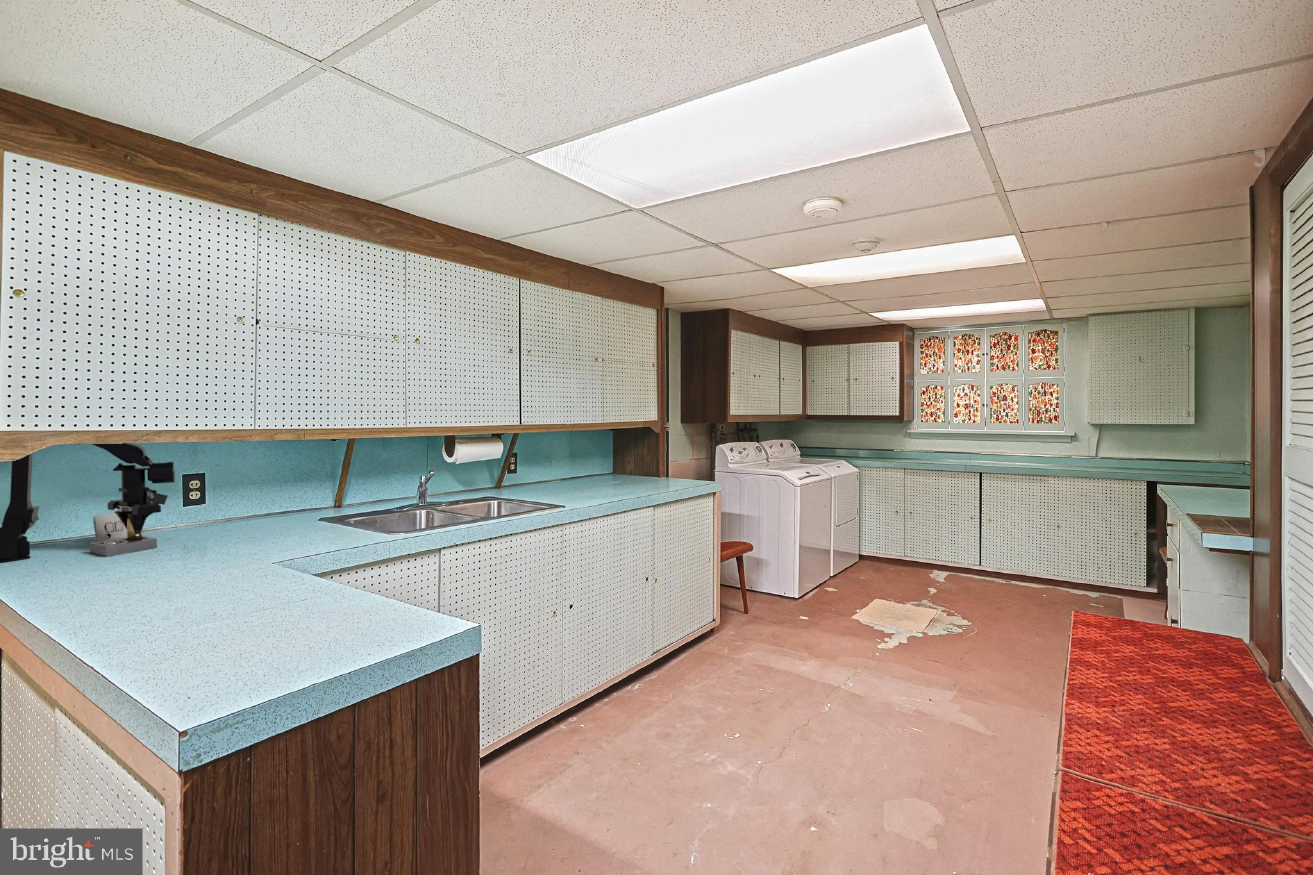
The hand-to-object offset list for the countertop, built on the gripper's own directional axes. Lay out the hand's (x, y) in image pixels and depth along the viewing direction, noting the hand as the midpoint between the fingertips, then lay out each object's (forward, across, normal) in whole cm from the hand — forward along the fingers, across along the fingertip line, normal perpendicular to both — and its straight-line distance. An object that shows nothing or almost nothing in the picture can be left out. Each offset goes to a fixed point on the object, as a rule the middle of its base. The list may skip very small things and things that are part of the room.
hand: (134, 533), depth 194 cm
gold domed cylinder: (+2, 0, 0) cm, 2 cm away
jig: (+5, 0, +3) cm, 6 cm away
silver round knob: (+5, 0, +6) cm, 8 cm away
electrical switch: (+5, +19, -2) cm, 20 cm away
